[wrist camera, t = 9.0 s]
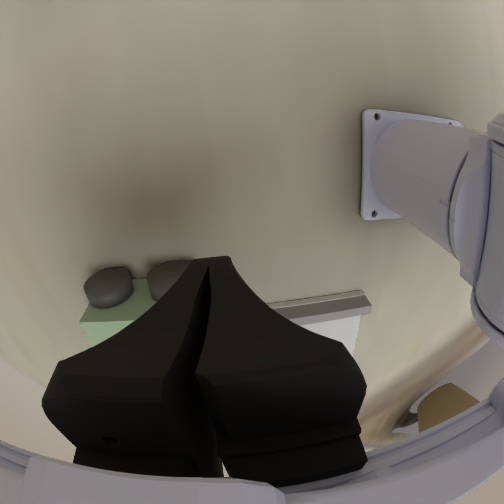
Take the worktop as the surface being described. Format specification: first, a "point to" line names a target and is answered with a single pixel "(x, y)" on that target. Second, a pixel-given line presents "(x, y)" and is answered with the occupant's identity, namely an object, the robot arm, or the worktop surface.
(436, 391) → the plant pot
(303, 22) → the worktop surface
